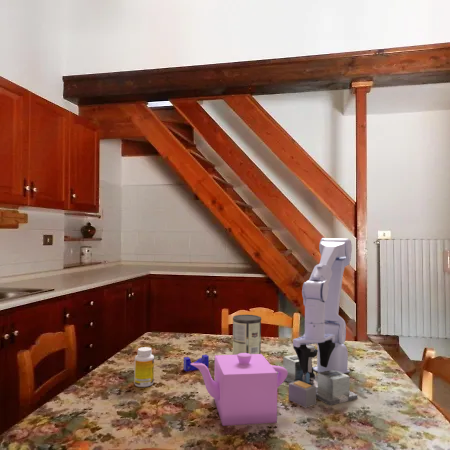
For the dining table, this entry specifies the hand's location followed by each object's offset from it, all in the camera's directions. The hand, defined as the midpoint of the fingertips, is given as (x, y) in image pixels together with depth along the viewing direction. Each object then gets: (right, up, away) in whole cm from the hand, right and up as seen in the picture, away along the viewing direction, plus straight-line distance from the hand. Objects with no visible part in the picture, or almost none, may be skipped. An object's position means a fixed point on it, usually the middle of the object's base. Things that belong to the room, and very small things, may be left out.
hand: (314, 368), depth 118 cm
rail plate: (0, -5, 0) cm, 5 cm away
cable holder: (-36, -5, +14) cm, 39 cm away
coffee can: (-18, -6, +28) cm, 34 cm away
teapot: (-23, -5, -17) cm, 28 cm away
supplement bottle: (-50, -5, -1) cm, 50 cm away
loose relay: (-6, -5, -11) cm, 13 cm away
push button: (-1, -4, +1) cm, 5 cm away
